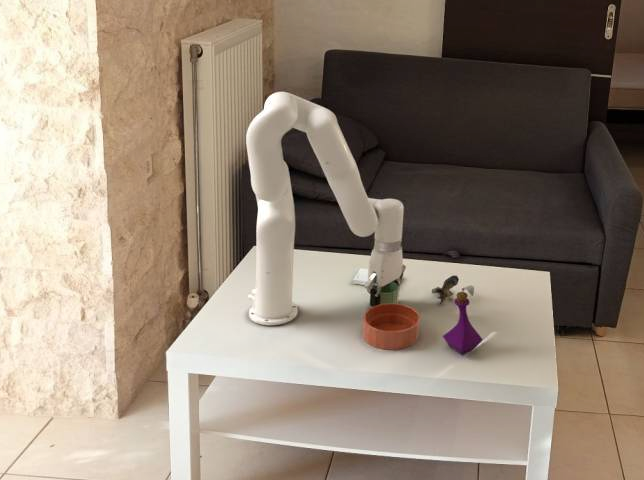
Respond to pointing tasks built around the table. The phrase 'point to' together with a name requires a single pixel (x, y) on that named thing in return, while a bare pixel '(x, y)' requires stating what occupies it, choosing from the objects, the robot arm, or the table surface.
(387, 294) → the green faceted cup
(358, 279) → the hard drive
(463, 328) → the perfume bottle
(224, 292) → the table surface
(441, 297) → the eagle figurine
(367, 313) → the terracotta bowl
